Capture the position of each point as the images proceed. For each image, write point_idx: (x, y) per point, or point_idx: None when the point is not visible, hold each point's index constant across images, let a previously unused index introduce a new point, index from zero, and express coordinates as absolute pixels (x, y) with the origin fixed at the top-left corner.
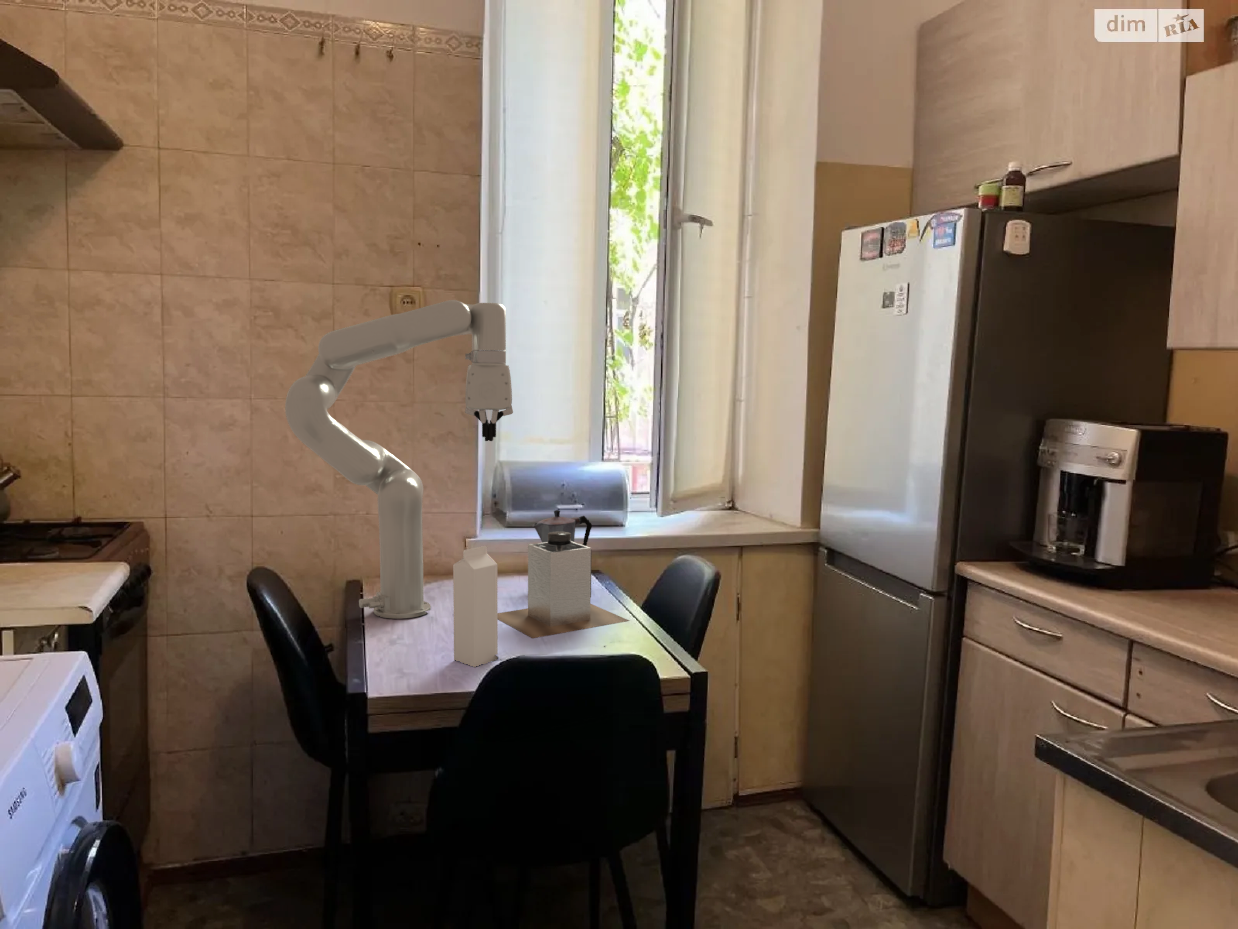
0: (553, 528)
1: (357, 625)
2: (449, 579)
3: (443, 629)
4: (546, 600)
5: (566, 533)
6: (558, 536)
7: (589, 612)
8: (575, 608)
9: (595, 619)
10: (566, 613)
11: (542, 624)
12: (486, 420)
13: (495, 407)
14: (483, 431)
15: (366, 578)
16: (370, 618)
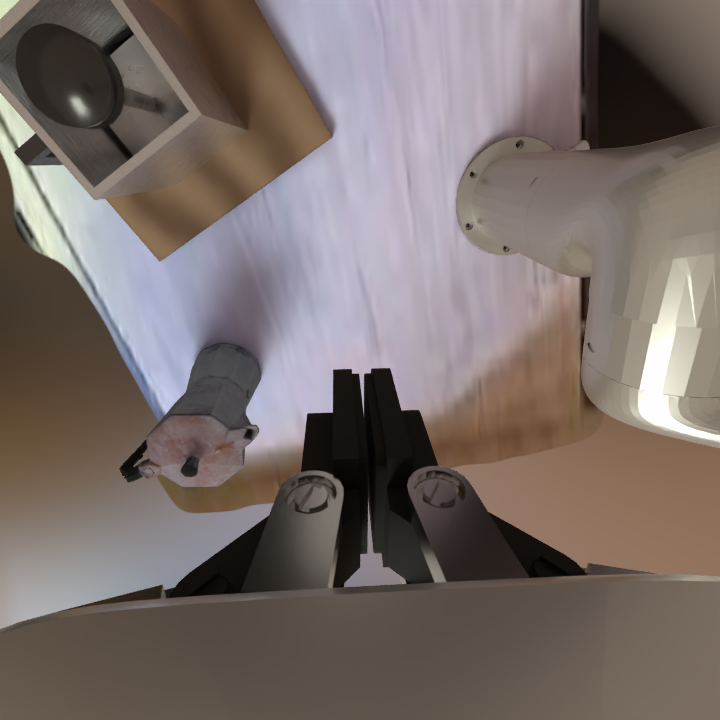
0: (199, 409)
1: (594, 91)
2: (434, 417)
3: (419, 57)
4: (170, 27)
5: (37, 83)
6: (51, 24)
7: None
8: None
9: None
10: None
11: (201, 46)
12: (401, 512)
13: (228, 620)
14: (414, 432)
15: (573, 416)
16: (568, 147)
